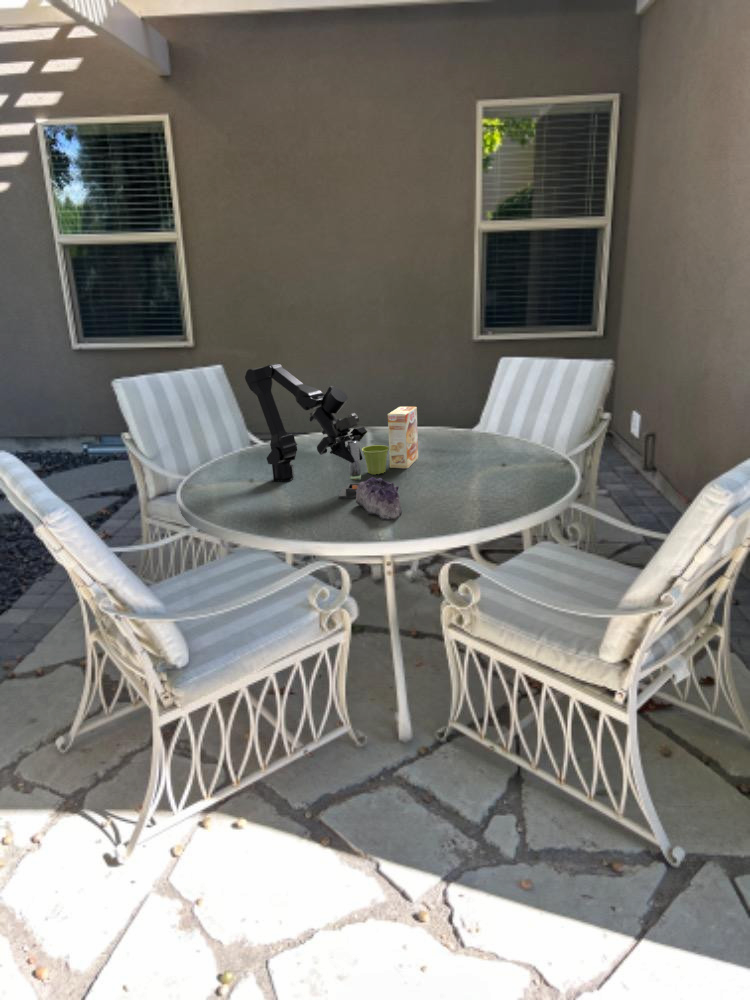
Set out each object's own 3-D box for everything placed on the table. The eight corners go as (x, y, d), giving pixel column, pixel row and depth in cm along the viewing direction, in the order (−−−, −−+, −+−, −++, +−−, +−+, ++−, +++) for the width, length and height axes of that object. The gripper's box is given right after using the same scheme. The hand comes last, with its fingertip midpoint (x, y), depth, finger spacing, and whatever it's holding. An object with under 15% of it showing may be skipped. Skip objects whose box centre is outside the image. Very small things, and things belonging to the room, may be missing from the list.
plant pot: (387, 476, 237) (386, 451, 234) (360, 476, 239) (359, 451, 236) (392, 468, 246) (391, 445, 243) (366, 468, 248) (364, 445, 245)
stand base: (338, 498, 216) (337, 488, 215) (343, 489, 226) (342, 479, 224) (370, 498, 215) (369, 487, 214) (373, 488, 224) (373, 478, 223)
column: (349, 480, 217) (346, 443, 214) (350, 477, 221) (348, 440, 217) (360, 480, 217) (358, 443, 213) (361, 477, 220) (359, 440, 217)
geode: (416, 516, 197) (411, 484, 193) (379, 528, 194) (374, 496, 190) (388, 495, 215) (383, 465, 211) (353, 506, 211) (348, 475, 207)
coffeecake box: (408, 468, 245) (406, 414, 239) (388, 468, 247) (386, 414, 241) (419, 458, 258) (417, 406, 252) (401, 457, 261) (398, 405, 255)
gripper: (320, 411, 207) (350, 451, 204) (360, 401, 221) (389, 438, 218) (304, 434, 215) (332, 473, 211) (343, 423, 228) (371, 459, 225)
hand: (357, 460), depth 216 cm, fingers closed on column, 3 cm apart
